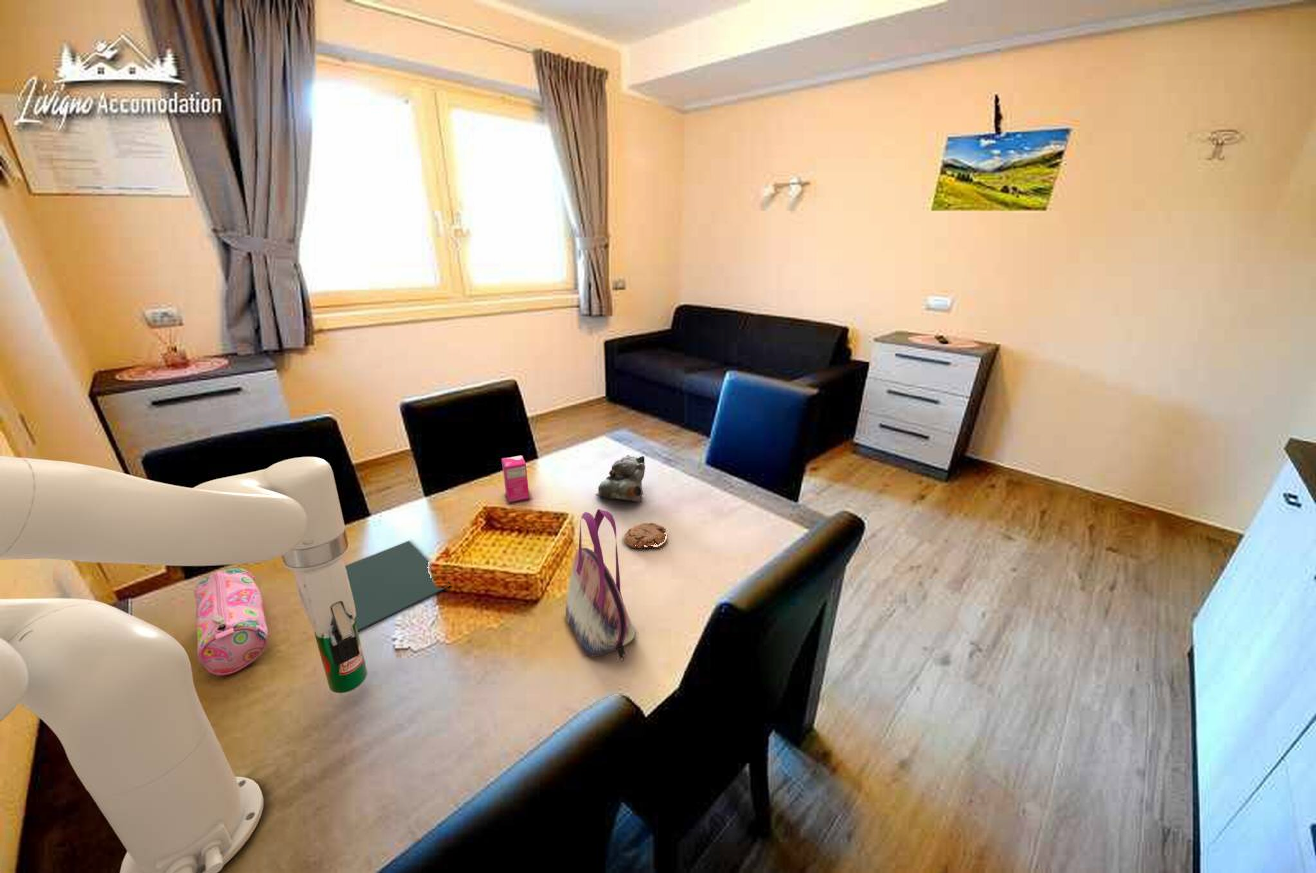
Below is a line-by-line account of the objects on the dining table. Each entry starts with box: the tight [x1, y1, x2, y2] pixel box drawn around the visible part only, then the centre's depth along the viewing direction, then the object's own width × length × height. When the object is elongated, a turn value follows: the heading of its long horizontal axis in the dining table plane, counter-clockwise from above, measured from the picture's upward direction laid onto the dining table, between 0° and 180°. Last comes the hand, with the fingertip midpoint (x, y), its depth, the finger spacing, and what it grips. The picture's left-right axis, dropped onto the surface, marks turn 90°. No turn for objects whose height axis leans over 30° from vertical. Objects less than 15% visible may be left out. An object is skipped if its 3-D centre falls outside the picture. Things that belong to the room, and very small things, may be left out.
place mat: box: [345, 540, 448, 632], centre depth 101 cm, size 22×18×1 cm
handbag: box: [565, 508, 636, 663], centre depth 86 cm, size 21×10×25 cm, turn 30°
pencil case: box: [193, 567, 269, 676], centre depth 85 cm, size 21×9×9 cm, turn 41°
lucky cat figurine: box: [594, 454, 646, 503], centre depth 136 cm, size 15×12×14 cm
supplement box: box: [501, 455, 531, 504], centre depth 133 cm, size 6×6×12 cm
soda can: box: [314, 618, 368, 694], centre depth 72 cm, size 5×5×12 cm
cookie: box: [624, 522, 669, 549], centre depth 117 cm, size 10×11×3 cm
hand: (340, 647), depth 72 cm, fingers closed on soda can, 5 cm apart
